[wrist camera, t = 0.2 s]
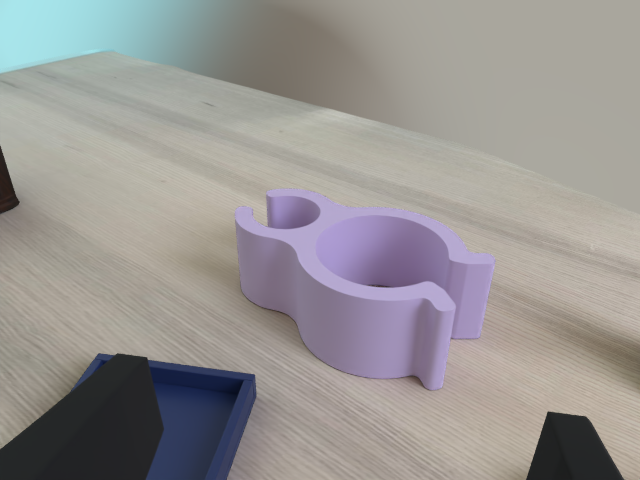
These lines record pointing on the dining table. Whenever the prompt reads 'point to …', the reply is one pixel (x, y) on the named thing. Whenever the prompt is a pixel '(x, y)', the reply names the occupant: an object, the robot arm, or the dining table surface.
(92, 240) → the dining table surface
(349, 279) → the clip
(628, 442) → the dining table surface
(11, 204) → the manual coffee grinder
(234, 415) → the blue tray
